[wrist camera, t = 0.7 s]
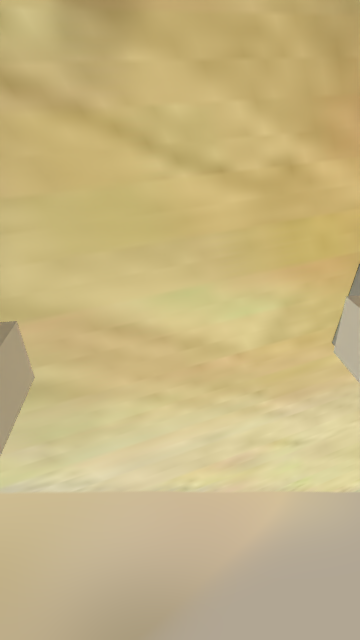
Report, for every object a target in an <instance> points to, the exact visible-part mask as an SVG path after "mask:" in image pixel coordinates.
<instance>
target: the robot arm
mask: <svg viewBox="0 0 360 640" xmlns="http://www.w3.org/2000/svg"><path fill="white" fill-rule="evenodd" d="M334 353H335V354H336V355H337V357H338V358H339V359H340V360H341V361H342V363H343V364H344V365H345V366H346V367H347V369H348V370H349V371H350V372H351V373H352V375H353V376H354V377H355V378H356V379H357V381H358V382H359V383H360V296H347V297H346V300H345V304H344V308H343V313H342V317H341V322H340V326H339V330H338V335H337V339H336V344H335V348H334ZM34 378H35V377H34V374H33V371H32V368H31V364H30V361H29V358H28V355H27V352H26V349H25V345H24V342H23V339H22V336H21V333H20V330H19V327H18V323H17V321H13V322H0V456H1V453H2V451H3V449H4V446H5V444H6V442H7V440H8V437H9V435H10V433H11V430H12V428H13V426H14V423H15V421H16V419H17V417H18V414H19V412H20V410H21V407H22V405H23V403H24V400H25V398H26V396H27V394H28V391H29V389H30V387H31V384H32V382H33V380H34Z"/></svg>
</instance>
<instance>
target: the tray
mask: <svg viewBox="0 0 360 640" xmlns="http://www.w3.org/2000/svg"><path fill="white" fill-rule="evenodd" d="M349 296H360V265H359V267H358V270H357V273H356V276H355V279H354V282H353V285H352V287H351V290H350V293H349ZM341 317H342V316H341ZM340 322H341V319H340ZM340 322H339V325H338V327H337V330H336V333H335V336H334V339H333V342H332V343H333V345H334V346H335V344H336V339H337V335H338V330H339V326H340Z"/></svg>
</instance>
